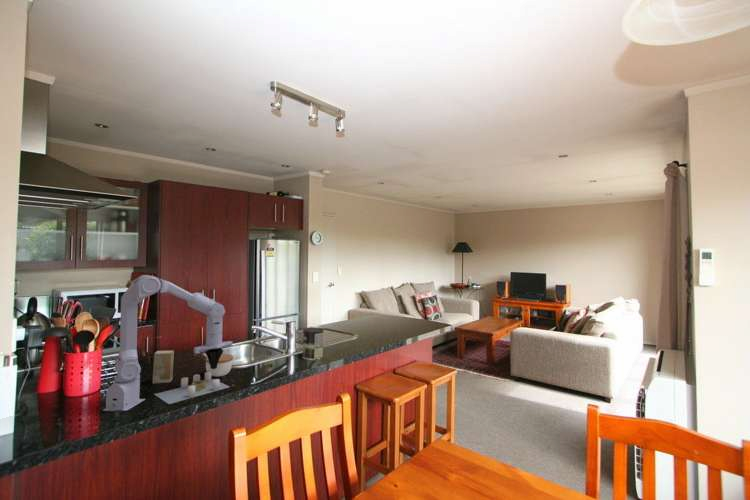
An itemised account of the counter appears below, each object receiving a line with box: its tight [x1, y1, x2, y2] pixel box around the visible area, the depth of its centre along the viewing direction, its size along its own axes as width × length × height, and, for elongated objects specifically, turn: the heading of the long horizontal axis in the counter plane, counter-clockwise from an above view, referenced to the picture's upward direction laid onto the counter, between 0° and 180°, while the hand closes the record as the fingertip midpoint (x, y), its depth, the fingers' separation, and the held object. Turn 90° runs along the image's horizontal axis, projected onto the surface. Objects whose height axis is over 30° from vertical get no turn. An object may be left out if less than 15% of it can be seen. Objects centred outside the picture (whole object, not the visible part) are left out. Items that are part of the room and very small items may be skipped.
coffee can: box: [302, 327, 324, 361], centre depth 185 cm, size 10×10×14 cm
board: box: [154, 371, 230, 405], centre depth 136 cm, size 22×13×4 cm, turn 141°
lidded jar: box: [205, 353, 234, 378], centre depth 155 cm, size 11×11×9 cm
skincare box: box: [152, 350, 175, 384], centre depth 145 cm, size 6×4×12 cm
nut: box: [191, 379, 206, 391], centre depth 137 cm, size 4×5×2 cm
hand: (213, 368), depth 142 cm, fingers closed
